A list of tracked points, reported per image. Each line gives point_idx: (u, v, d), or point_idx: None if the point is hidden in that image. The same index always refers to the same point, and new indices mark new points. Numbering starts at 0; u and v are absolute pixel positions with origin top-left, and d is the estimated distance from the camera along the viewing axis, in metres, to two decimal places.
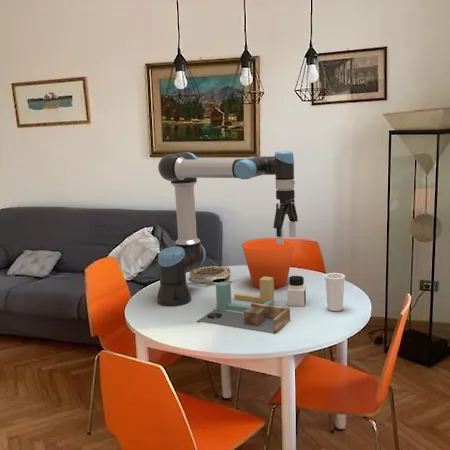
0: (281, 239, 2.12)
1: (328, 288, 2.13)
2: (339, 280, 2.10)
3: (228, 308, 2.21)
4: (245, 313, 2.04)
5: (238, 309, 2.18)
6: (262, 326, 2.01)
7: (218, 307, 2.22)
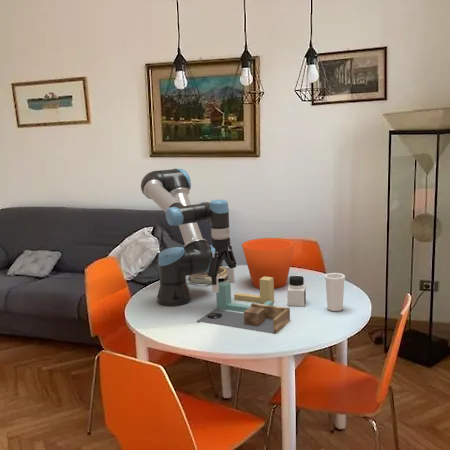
0: (216, 287, 2.14)
1: (328, 288, 2.13)
2: (339, 280, 2.10)
3: (228, 308, 2.21)
4: (245, 313, 2.04)
5: (238, 309, 2.18)
6: (262, 326, 2.01)
7: (218, 307, 2.22)
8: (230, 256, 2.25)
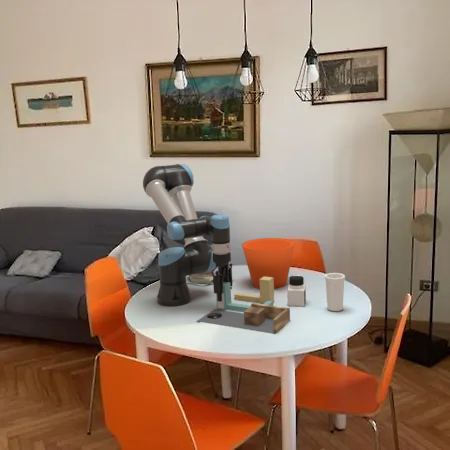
0: (222, 304, 2.20)
1: (328, 288, 2.13)
2: (339, 280, 2.10)
3: (228, 308, 2.21)
4: (245, 313, 2.04)
5: (238, 309, 2.18)
6: (262, 326, 2.01)
7: None
8: (228, 274, 2.25)
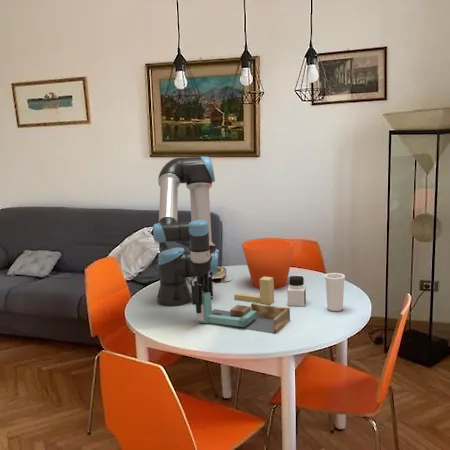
0: (201, 315, 2.05)
1: (328, 288, 2.13)
2: (339, 280, 2.10)
3: (209, 320, 2.06)
4: (231, 311, 2.06)
5: (219, 321, 2.04)
6: (262, 326, 2.01)
7: None
8: (208, 284, 2.10)
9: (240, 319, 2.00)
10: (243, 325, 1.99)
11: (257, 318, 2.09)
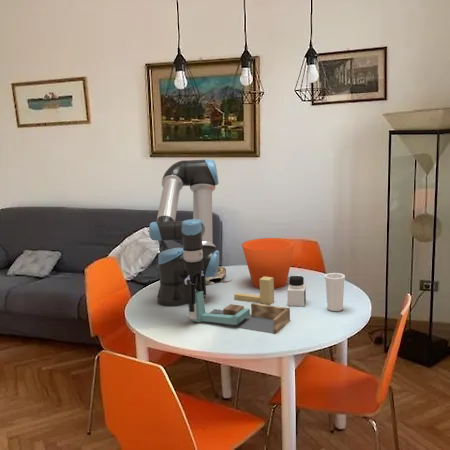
0: (194, 314, 2.07)
1: (328, 288, 2.13)
2: (339, 280, 2.10)
3: (202, 318, 2.07)
4: (224, 311, 2.07)
5: (212, 319, 2.05)
6: (262, 326, 2.01)
7: None
8: (201, 283, 2.12)
9: (232, 317, 2.01)
10: (235, 322, 2.00)
11: (257, 318, 2.09)
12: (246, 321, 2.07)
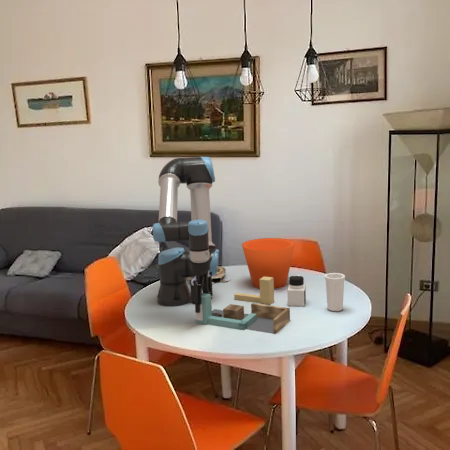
0: (200, 315, 2.05)
1: (328, 288, 2.13)
2: (339, 280, 2.10)
3: (208, 321, 2.06)
4: (224, 311, 2.07)
5: (219, 323, 2.04)
6: (262, 326, 2.01)
7: (198, 320, 2.07)
8: (208, 284, 2.10)
9: (240, 322, 2.00)
10: (243, 328, 1.99)
11: (257, 318, 2.09)
12: None
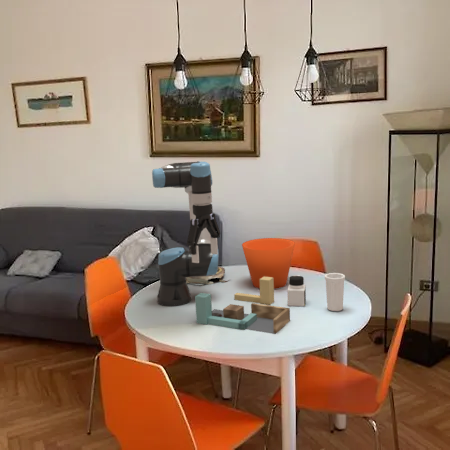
0: (196, 257, 1.98)
1: (328, 288, 2.13)
2: (339, 280, 2.10)
3: (208, 321, 2.06)
4: (224, 311, 2.07)
5: (219, 323, 2.04)
6: (262, 326, 2.01)
7: (198, 320, 2.07)
8: (213, 225, 2.08)
9: (240, 322, 2.00)
10: (243, 328, 1.99)
11: (257, 318, 2.09)
12: None
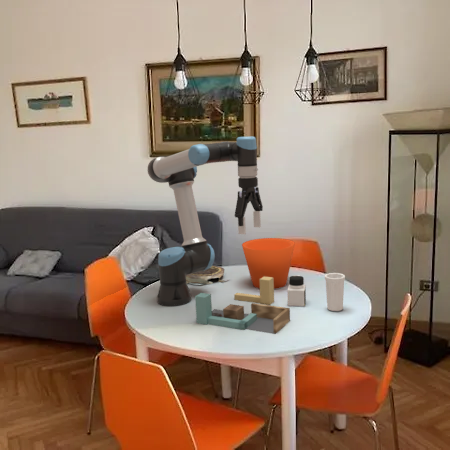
0: (243, 229, 2.02)
1: (328, 288, 2.13)
2: (339, 280, 2.10)
3: (208, 321, 2.06)
4: (224, 311, 2.07)
5: (219, 323, 2.04)
6: (262, 326, 2.01)
7: (198, 320, 2.07)
8: (256, 198, 2.13)
9: (240, 322, 2.00)
10: (243, 328, 1.99)
11: (257, 318, 2.09)
12: None
